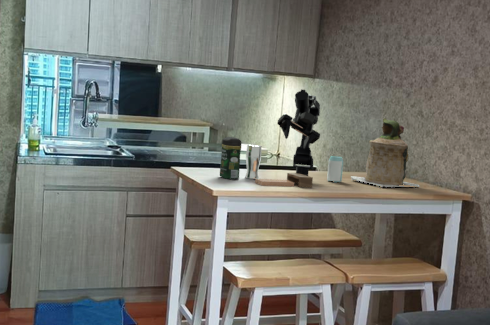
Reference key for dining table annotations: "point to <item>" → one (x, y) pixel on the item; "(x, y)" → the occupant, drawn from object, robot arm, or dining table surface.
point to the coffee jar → (230, 158)
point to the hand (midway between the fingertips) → (295, 143)
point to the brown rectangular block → (300, 179)
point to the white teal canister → (335, 169)
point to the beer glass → (253, 161)
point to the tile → (274, 182)
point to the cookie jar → (387, 158)
